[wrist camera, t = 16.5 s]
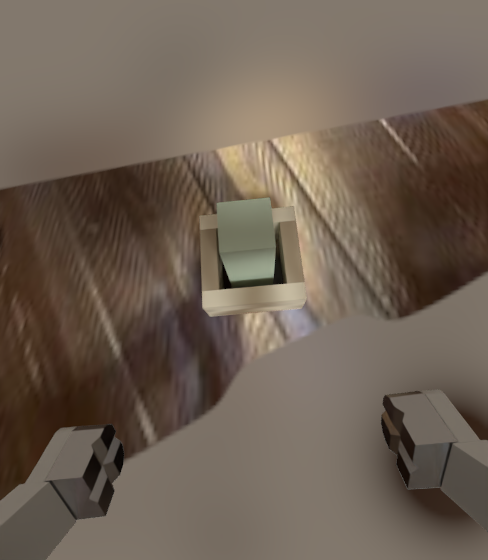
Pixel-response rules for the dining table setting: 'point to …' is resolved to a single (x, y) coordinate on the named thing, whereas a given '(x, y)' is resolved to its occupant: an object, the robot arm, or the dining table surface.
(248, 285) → the sage-green peg
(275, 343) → the dining table surface
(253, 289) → the beige square socket frame
